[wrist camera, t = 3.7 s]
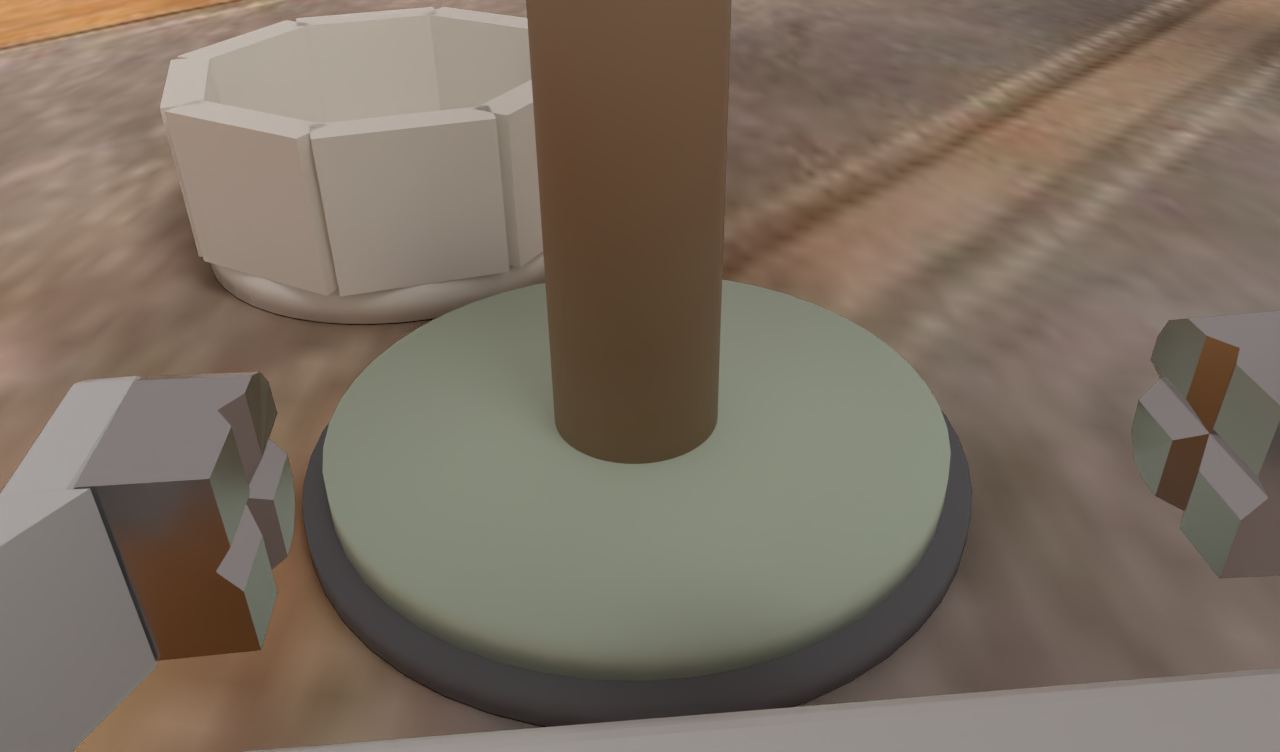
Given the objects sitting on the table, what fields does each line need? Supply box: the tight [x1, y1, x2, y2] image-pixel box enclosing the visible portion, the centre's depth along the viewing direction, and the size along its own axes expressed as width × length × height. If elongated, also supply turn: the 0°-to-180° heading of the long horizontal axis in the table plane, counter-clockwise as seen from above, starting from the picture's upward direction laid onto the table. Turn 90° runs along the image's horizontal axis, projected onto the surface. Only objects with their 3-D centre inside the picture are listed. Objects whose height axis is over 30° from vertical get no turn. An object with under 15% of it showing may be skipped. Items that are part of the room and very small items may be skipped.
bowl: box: [160, 7, 545, 324], centre depth 30 cm, size 11×11×5 cm
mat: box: [302, 410, 972, 727], centre depth 22 cm, size 13×13×1 cm
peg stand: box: [322, 0, 951, 681], centre depth 18 cm, size 12×12×13 cm
